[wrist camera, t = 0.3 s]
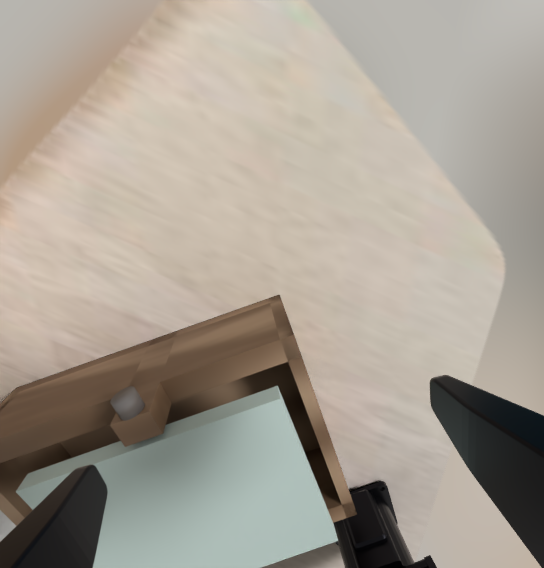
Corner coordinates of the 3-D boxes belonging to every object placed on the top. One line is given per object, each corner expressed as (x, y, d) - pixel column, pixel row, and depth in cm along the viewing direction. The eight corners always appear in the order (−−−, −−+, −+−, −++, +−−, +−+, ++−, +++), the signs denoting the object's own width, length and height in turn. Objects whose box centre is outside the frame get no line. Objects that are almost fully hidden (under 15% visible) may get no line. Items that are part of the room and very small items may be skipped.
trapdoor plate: (333, 524, 21) (338, 540, 20) (134, 593, 21) (130, 613, 20) (277, 385, 16) (280, 398, 16) (27, 473, 17) (15, 491, 16)
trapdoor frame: (336, 455, 28) (373, 559, 21) (127, 528, 28) (89, 657, 21) (275, 282, 22) (296, 341, 14) (7, 377, 22) (-110, 484, 15)
